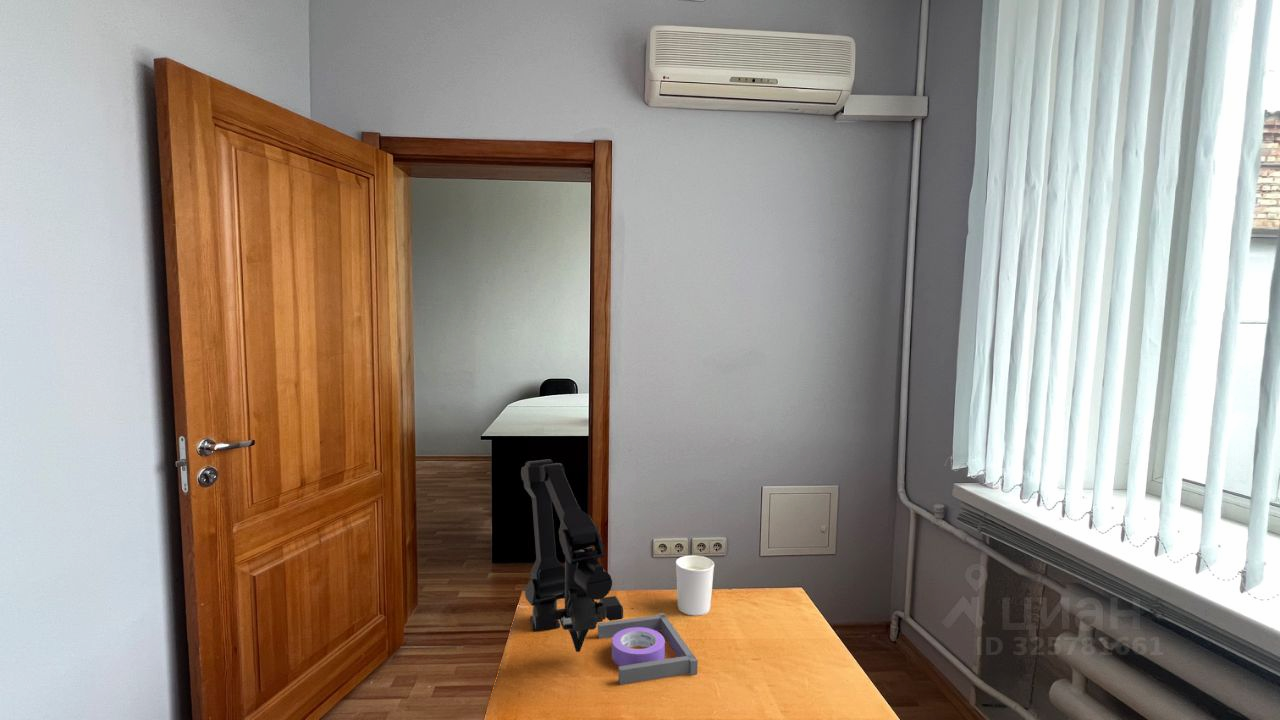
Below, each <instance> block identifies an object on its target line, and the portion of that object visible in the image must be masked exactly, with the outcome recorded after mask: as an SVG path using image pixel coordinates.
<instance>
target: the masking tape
mask: <svg viewBox="0 0 1280 720" xmlns="http://www.w3.org/2000/svg"><path fill="white" fill-rule="evenodd" d="M665 639H666V638H665V636H664V635H663V634H662V633H660V632H659V631H655V630H653V629H649V628H643V627H633V628H627V629H624V630H621V631H619V632H617V633H616V634H615V635H614V636H613V637H611V658H612V661H613V662H614V663H615V664H616V665H617V666H618V667H619V666H625V665H631V664H638V663H644V662H650V661H657V660H663V659H665V656H666V655H665V651H666V646H665V645H666V641H665ZM633 647H642V648H633Z"/></svg>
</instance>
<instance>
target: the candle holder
mask: <svg viewBox="0 0 1280 720" xmlns="http://www.w3.org/2000/svg"><path fill="white" fill-rule="evenodd" d="M675 567H676V570H675V571H676V572H675V573H676V594H677V595H676V596H677V597H676V599H677V609H678V610H679V611H680V612H681V613H682V614H685V615H687V616H703V615H706V614H708V613H709V612H710V611H711V604H712V595H713V594H712V593H713V592H712V591H713V583H714V581H713V580H714V579H713V578H714V569H715V562H714V561H713V560H712V559H710V558H708V557H706V556H701V555H685V556H681V557H678V558H677V559H676V560H675Z"/></svg>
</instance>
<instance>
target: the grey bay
mask: <svg viewBox="0 0 1280 720" xmlns="http://www.w3.org/2000/svg"><path fill="white" fill-rule="evenodd" d="M633 627H643V628H649V629H653V630H655V631H657V632H659V631H660V632H661V634H662V636H663V637H664V639H666V641H667V642H668V643H669V645H670V646H671V649H673V651H674V653H675V654H676V655H677V656H675V657H671V658H664V659H663V660H657V661H650V662H644V663H638V664H631V665H625V666H619V665H618V673H617V674H618V676H617V677H618V679H617V680H618V682H619V685H620V686H621V685H626V684H633V683H637V682H638V683H639V682H644V681H645V682H646V681H650V680H651V681H652V680H657V679H662V678H670V677H675V676H682V675H687V674H689V675H690V676H696V675H698V664H699V663H698V661H699V660H698V659H697V657H696V656H695V655H694V653H693V652H692V650H691V649H690V648H689V646H688V645H687V644H686V642H685V641H684V639H683V638H682V637H681V635H680V634H679V632H678V631H677V629H676V628H675V627H674V626H673V624H672V623H671V621H670V620H669V619H668V617H667V615H666V614H665V613H664V612H663V613H662V612H661V613H657V615H650V616H644V617H635V618H628V619H619V620H612V621H606V622H605V621H604V622H597V637H598V639H600V640H601V639H607V638H608V639H609V638H613V636H614V635H615V634H616V633H617V632H619V631H621V630H624V629H627V628H633Z"/></svg>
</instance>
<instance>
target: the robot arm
mask: <svg viewBox="0 0 1280 720" xmlns="http://www.w3.org/2000/svg"><path fill="white" fill-rule="evenodd" d="M520 476H521V480H522V481H523V488H524V490H526V492H527V493H528V495H529V496H530V497H531V502H532V503H531V506H532V516H533V517H532V519H533V531H534V542H535V543H534V544H535V556H536V557H535V561H534V563H533V565H532V568H531V569H530V580H529V582H528V583H527V584H526V586H525V588H524V594H525V595H524V596H525V600H527V602H528V603H529V604H530V605H531V606H532V615H531V616H530V617H529V620H530V624H531V628H532V630H533V631H543V630H551V629H558V628H562V629H563V630H564V631H568V633H569V634H570V637H571V640H572V643H573V647H574V649H575V653H579V652H581V649H582V647H583V644H584V641H585V640H586V637H587V635H588V632H589V631H592V630H595V629H596V628H597V626H598V623H603V620H606V619H607V620H608V621H609V622H611V621H619V620H623V619H624V607H623V605H622V603H621V601H620V600H619V598H618V597H617V596H616V595H613V596H608V595H609V593H610V591H611V590H612V586H613V579H612V577H611V575H610V573H609V572H607V571H606V570H605V569H604V564H603V563H601V562H599V559H601V558H605V552H604V549H605V546H604V543H603V540H602V537H601V534H600V531H599V530H598V527H597V525H596V524H595V523H594V521H593V520H592V517H591V515H589V513H586V512H585V511H584V510H582V509H581V507H580V506H579V504H578V501H577V500H576V497H575V494H574V493H573V490H572V488H571V486H570V484H569V482H568V479H567V476H566V470H565V467H564V465H563V464H562V463H559V462H555V463H554V461H553V460H552V459H541V460H533V461H532V460H529V461H526V462H525V464H524V466H522V467H521V469H520ZM553 506H554V509H555V511H556V514H557V516H558V519H559V522H560V524H559V525H560V526H559V528H558V535H559V536H558V539H559V544H560V546H561V549H562V553H563V555H564V556H565V557H564V558H565V559H564V564H562V563H561V562H560V561H559V559H558V558H557V552H556V540H555V539H556V537H555V526H554V525H555V523H554V514H553ZM592 548H594V549H592ZM586 549H589V550H586ZM561 599H563V600H564V608H558V600H561ZM598 600H599V602H598Z"/></svg>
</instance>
